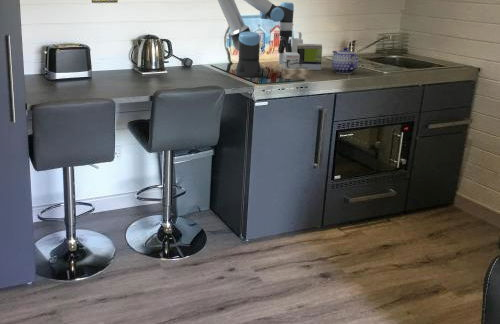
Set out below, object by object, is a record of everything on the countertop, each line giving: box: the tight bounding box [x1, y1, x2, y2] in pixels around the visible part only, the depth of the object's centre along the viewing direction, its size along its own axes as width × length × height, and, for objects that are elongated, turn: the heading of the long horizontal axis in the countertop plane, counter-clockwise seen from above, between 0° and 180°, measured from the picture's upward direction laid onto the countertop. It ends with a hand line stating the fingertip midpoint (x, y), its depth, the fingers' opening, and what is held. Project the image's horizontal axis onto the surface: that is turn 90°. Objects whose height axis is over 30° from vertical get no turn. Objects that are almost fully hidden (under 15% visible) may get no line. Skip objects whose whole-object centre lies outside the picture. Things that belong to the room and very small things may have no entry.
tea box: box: [297, 43, 323, 71], centre depth 350 cm, size 15×10×15 cm, turn 84°
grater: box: [284, 31, 304, 52], centre depth 365 cm, size 10×10×20 cm
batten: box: [281, 69, 311, 80], centre depth 320 cm, size 15×3×5 cm, turn 103°
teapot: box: [331, 46, 359, 75], centre depth 340 cm, size 25×15×15 cm, turn 24°
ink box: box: [281, 51, 300, 74], centre depth 331 cm, size 9×5×12 cm, turn 105°
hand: (284, 66), depth 343 cm, fingers open, 13 cm apart
